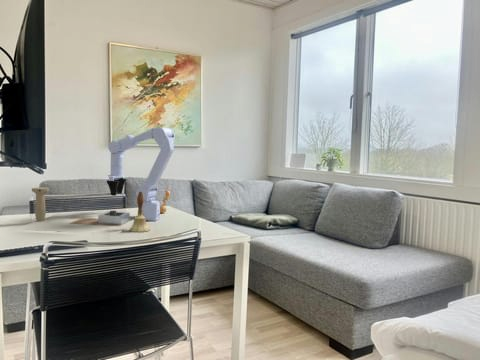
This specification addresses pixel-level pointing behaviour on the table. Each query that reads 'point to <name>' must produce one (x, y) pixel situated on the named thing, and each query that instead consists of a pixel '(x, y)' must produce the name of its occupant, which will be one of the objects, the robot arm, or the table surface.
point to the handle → (40, 203)
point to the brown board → (94, 221)
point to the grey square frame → (113, 218)
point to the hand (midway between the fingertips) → (116, 194)
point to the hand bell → (139, 217)
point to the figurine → (163, 208)
